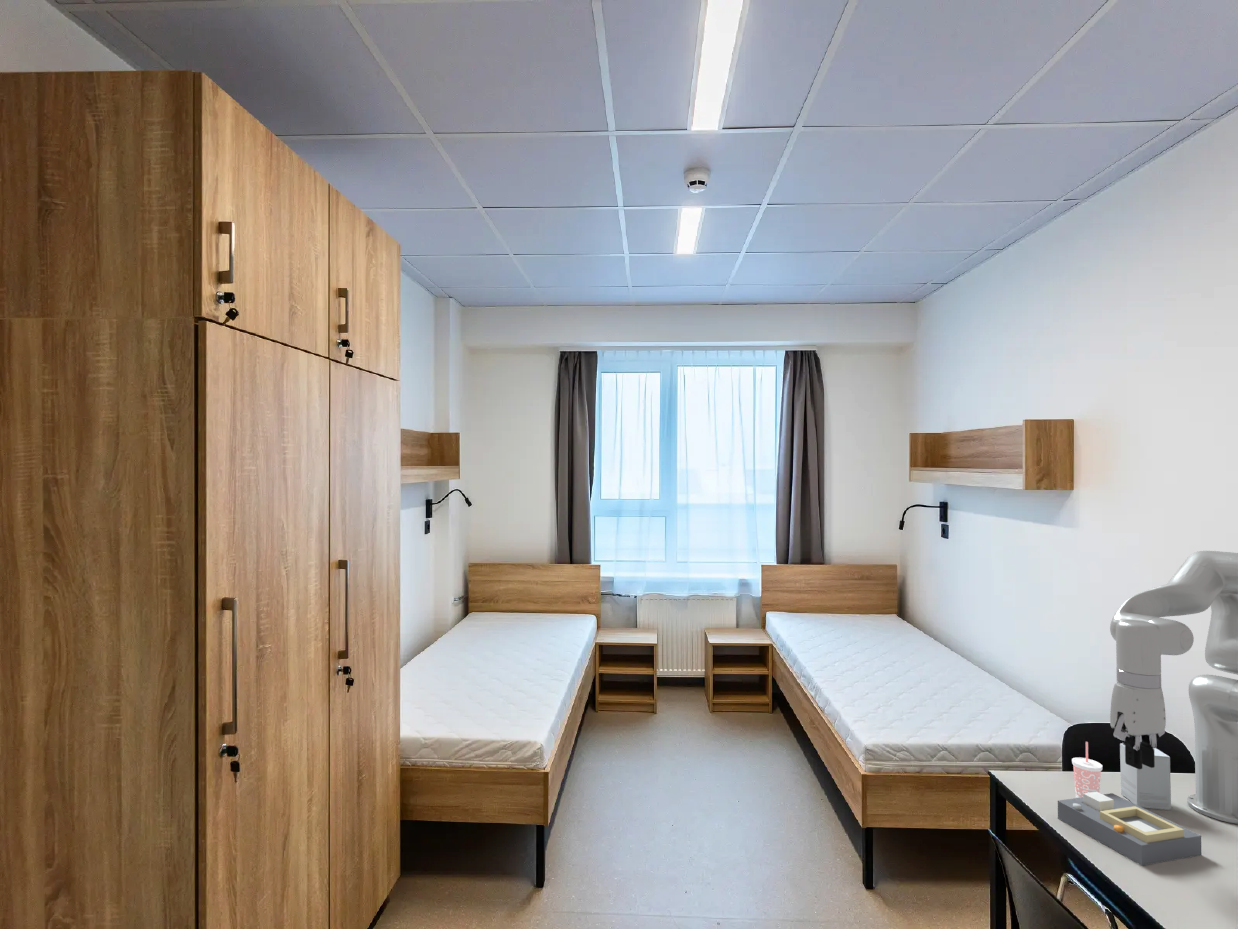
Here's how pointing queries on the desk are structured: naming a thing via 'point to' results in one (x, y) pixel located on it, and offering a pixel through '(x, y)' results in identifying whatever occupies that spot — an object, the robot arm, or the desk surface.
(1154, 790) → the supplement box
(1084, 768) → the beverage cup
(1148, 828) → the block
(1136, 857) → the gray panel board
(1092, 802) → the block
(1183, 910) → the desk surface
